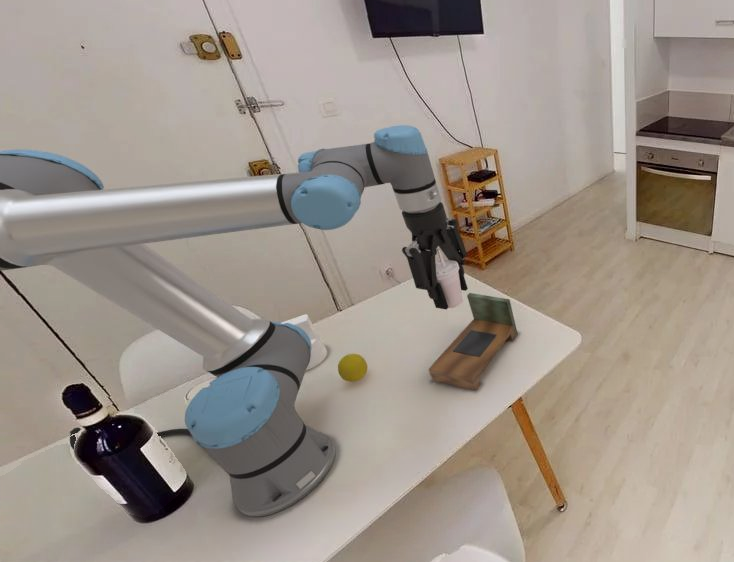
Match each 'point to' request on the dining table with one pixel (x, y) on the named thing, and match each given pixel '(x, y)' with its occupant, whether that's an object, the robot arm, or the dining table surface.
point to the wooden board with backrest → (476, 342)
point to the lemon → (352, 367)
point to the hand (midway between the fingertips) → (452, 297)
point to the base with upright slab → (316, 343)
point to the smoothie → (449, 280)
